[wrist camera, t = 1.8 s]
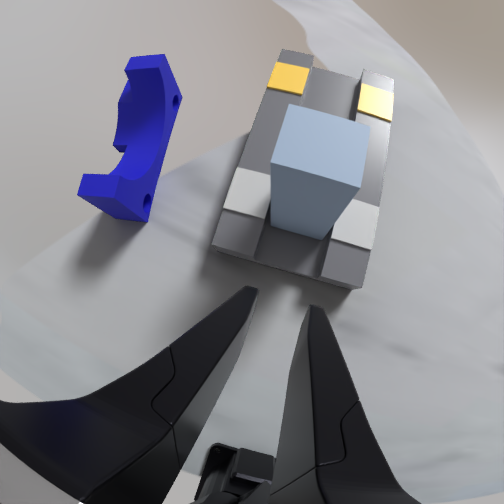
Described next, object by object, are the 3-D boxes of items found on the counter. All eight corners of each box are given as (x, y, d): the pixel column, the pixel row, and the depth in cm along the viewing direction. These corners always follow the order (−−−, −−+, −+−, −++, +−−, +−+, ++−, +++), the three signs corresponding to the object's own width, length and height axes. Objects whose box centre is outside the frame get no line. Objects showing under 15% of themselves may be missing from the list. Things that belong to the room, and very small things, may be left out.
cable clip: (139, 98, 26) (115, 59, 20) (182, 97, 25) (164, 54, 19) (101, 217, 24) (61, 193, 18) (148, 222, 23) (113, 197, 18)
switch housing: (352, 289, 21) (362, 287, 19) (217, 251, 22) (210, 243, 20) (385, 95, 24) (394, 78, 21) (281, 67, 25) (282, 47, 22)
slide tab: (321, 240, 21) (360, 188, 11) (270, 225, 21) (270, 162, 12) (331, 200, 21) (370, 126, 12) (282, 186, 22) (289, 103, 12)
